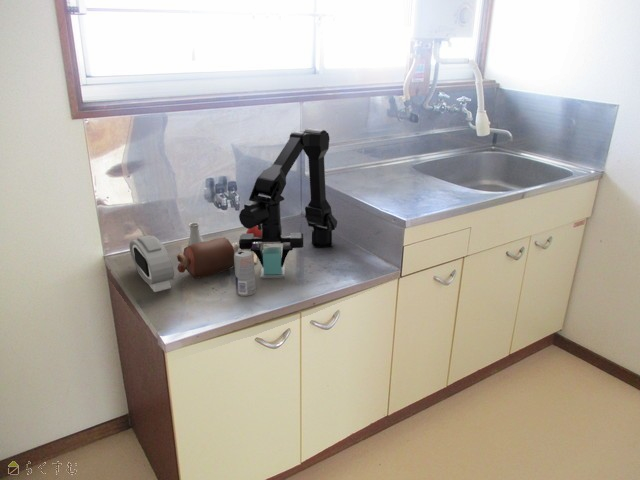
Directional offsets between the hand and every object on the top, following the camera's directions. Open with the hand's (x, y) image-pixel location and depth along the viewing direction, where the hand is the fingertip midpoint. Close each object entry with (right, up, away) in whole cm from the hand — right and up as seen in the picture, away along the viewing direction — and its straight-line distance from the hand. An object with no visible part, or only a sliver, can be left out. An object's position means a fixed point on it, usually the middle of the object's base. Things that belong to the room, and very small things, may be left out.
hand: (272, 266), depth 158 cm
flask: (-27, +4, +16) cm, 31 cm away
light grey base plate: (0, -2, +1) cm, 2 cm away
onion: (-8, +6, +21) cm, 23 cm away
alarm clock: (-35, -4, -3) cm, 35 cm away
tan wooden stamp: (-9, +2, +10) cm, 14 cm away
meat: (-19, -2, +1) cm, 19 cm away
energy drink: (-7, -7, -11) cm, 14 cm away
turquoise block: (0, -1, 0) cm, 1 cm away
